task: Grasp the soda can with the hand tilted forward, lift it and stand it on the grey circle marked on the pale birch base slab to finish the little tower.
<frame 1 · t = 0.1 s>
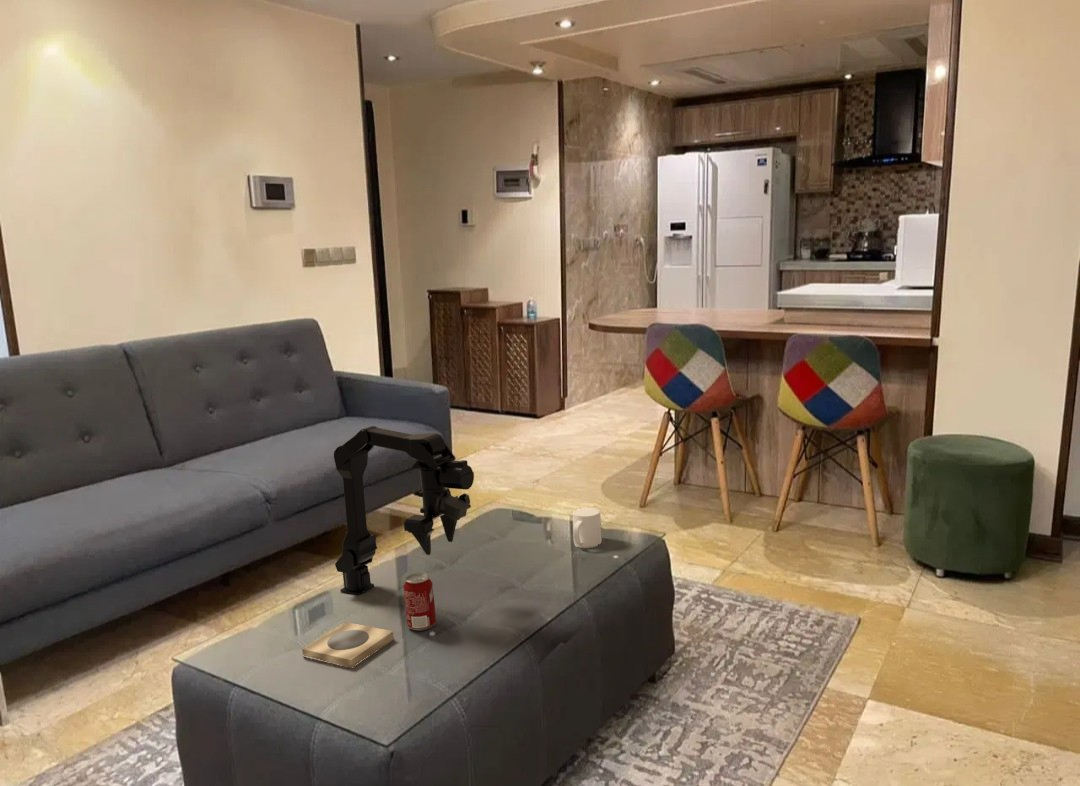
hand: (439, 548, 197), 15 cm above the table, tool pointing down, fingers open, 9 cm apart
mug: (586, 544, 234), on the table
soda can: (422, 626, 188), on the table
base slab: (349, 648, 179), on the table
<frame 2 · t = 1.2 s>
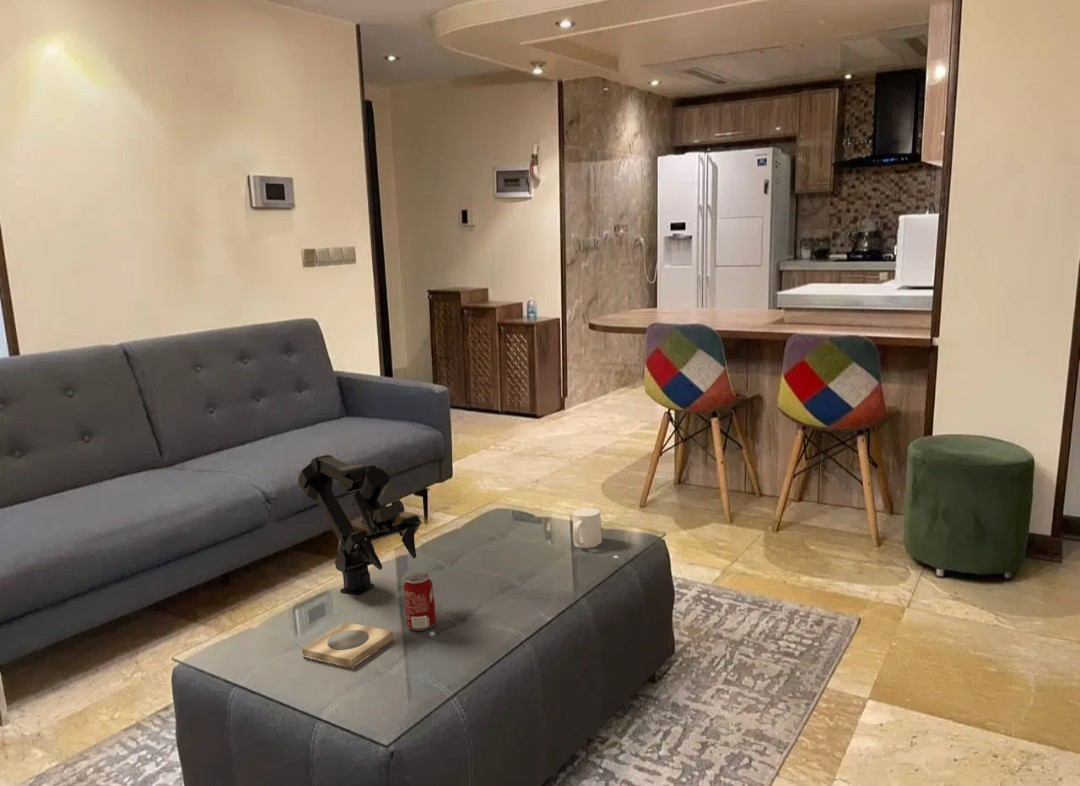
hand: (398, 563, 192), 13 cm above the table, tool tilted 45°, fingers open, 9 cm apart
nothing on the table moved.
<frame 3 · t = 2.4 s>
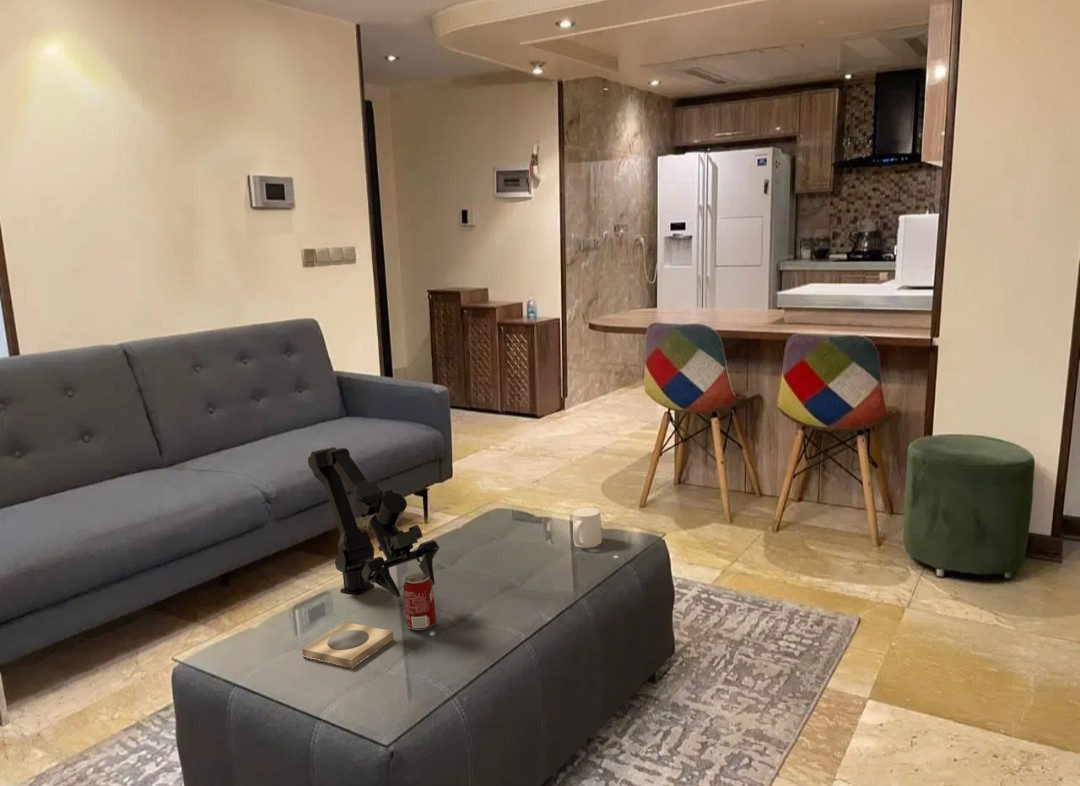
hand: (416, 590, 187), 8 cm above the table, tool tilted 45°, fingers open, 9 cm apart
nothing on the table moved.
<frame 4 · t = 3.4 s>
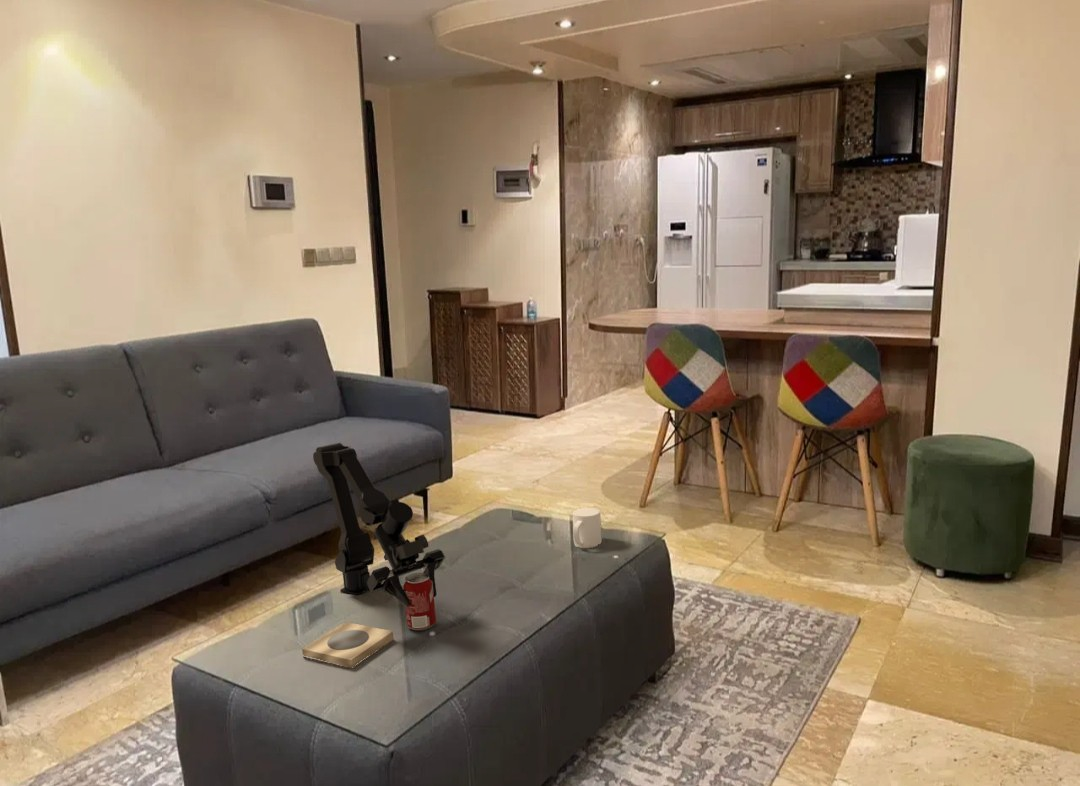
hand: (422, 600, 186), 7 cm above the table, tool tilted 45°, fingers closed on soda can, 7 cm apart
soda can: (422, 626, 188), on the table, touching gripper
everything else where it was.
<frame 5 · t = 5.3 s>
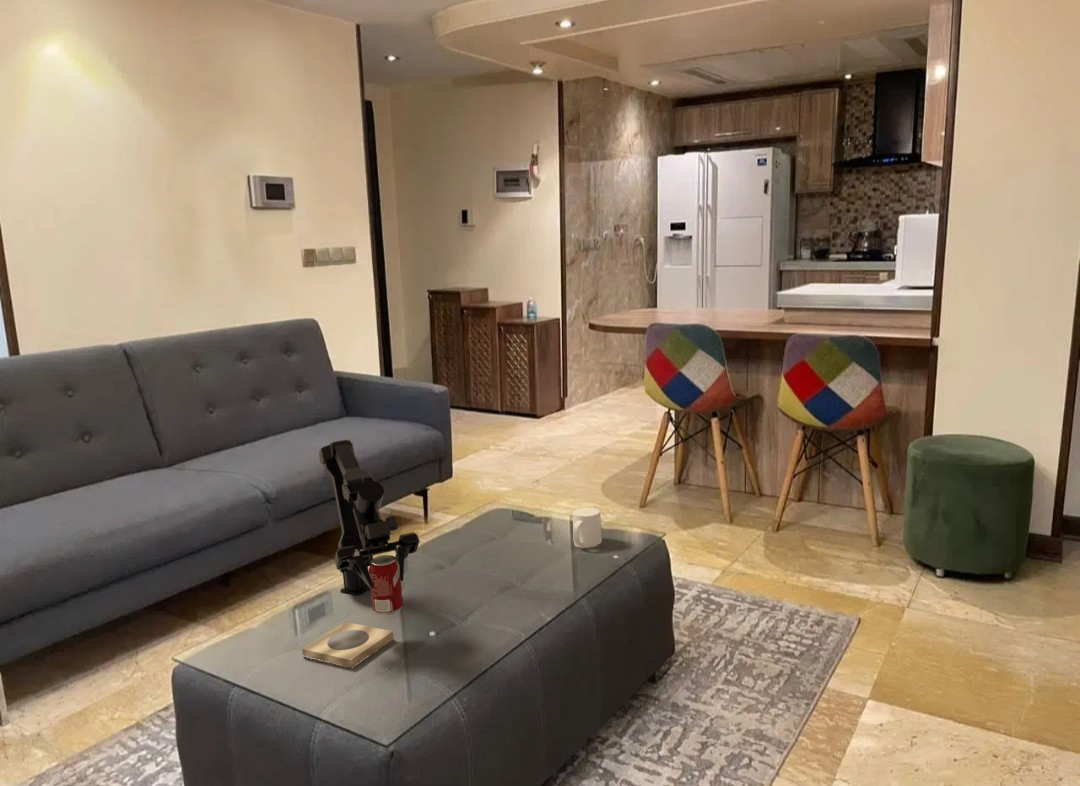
hand: (387, 584, 180), 13 cm above the table, tool tilted 45°, fingers closed on soda can, 7 cm apart
soda can: (388, 610, 182), point 6 cm above the table, touching gripper
everything else where it was.
when the fingers open (9 cm above the table, at t = 7.0 s): soda can stays where it is, resting on base slab.
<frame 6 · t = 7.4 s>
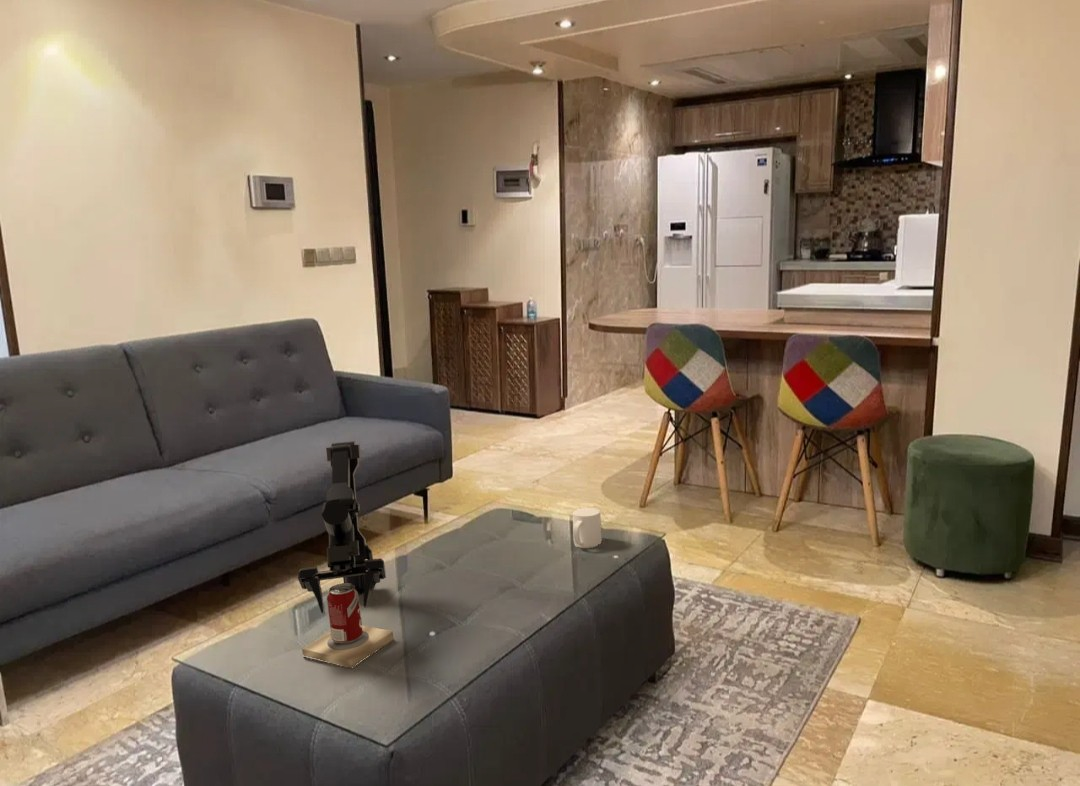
hand: (343, 609, 176), 10 cm above the table, tool tilted 45°, fingers open, 9 cm apart
soda can: (347, 639, 179), point 2 cm above the table, touching base slab
everything else where it was.
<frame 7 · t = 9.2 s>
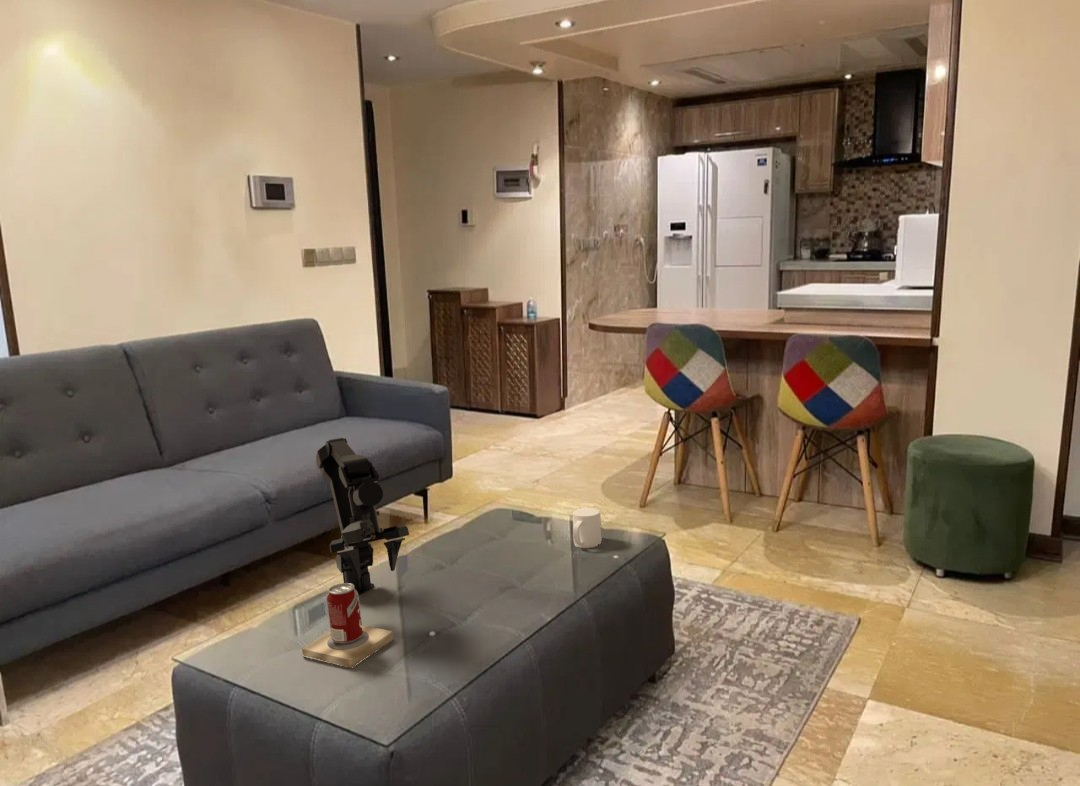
hand: (375, 574, 192), 11 cm above the table, tool tilted 20°, fingers open, 9 cm apart
nothing on the table moved.
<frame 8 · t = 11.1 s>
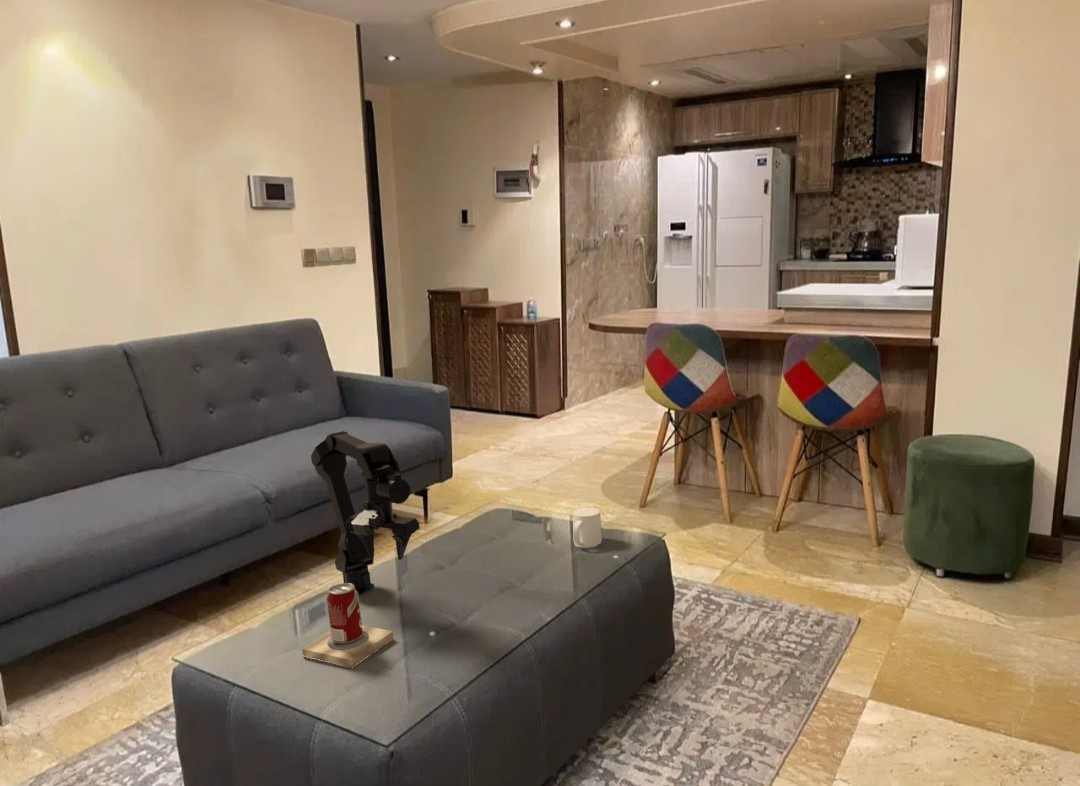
hand: (385, 557, 198), 13 cm above the table, tool pointing down, fingers open, 9 cm apart
nothing on the table moved.
at the end: soda can 0.2 cm from the base slab (horizontally); soda can tilted 0°; the gripper is holding nothing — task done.
